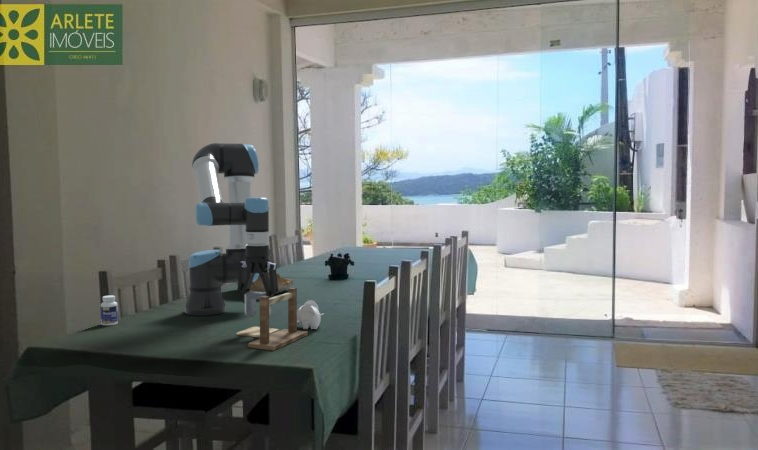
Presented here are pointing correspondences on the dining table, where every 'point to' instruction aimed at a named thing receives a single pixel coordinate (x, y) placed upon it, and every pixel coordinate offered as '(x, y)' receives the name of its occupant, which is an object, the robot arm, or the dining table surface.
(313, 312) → the elephant figurine
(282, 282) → the brown wooden chunk
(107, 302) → the pill bottle
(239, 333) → the cork coaster
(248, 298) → the c link
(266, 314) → the stand
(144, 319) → the dining table surface
